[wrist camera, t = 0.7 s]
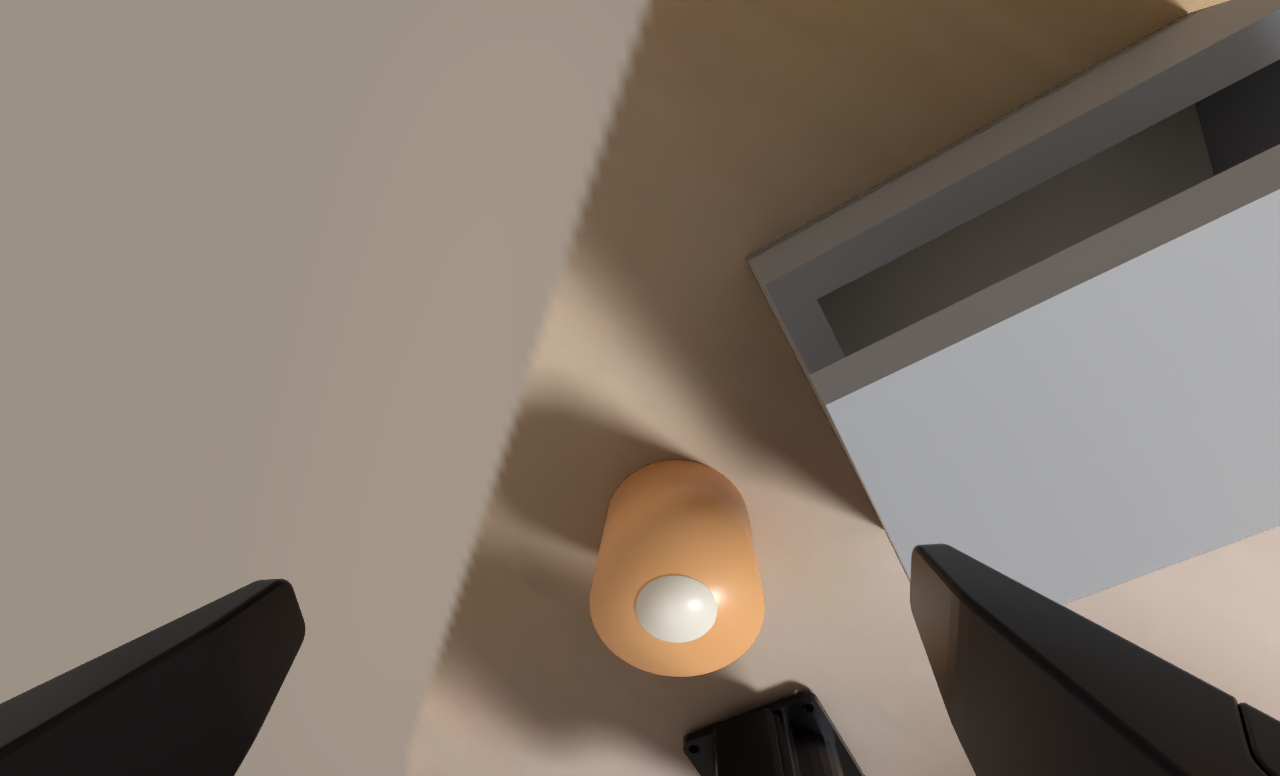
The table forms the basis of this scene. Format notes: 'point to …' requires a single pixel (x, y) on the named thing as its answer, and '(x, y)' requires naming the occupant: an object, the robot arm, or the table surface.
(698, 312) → the table surface
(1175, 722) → the robot arm
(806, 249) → the carton
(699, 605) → the orange round cylinder
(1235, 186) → the lid
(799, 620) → the table surface
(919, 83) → the table surface
